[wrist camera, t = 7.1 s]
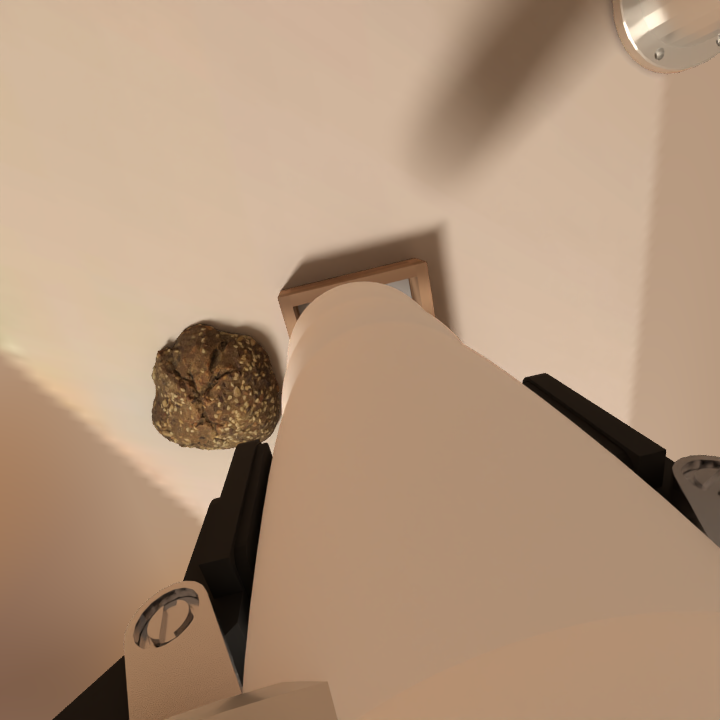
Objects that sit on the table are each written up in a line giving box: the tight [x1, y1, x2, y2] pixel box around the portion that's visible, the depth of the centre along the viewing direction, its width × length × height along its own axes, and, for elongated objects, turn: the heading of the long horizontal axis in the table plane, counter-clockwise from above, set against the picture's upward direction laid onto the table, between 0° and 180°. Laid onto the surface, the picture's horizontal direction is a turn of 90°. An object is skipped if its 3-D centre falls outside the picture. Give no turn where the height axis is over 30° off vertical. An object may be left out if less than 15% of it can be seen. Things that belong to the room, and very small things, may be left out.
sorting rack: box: [278, 258, 435, 338], centre depth 39 cm, size 25×13×4 cm, turn 12°
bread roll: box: [152, 324, 280, 450], centre depth 36 cm, size 13×12×5 cm
